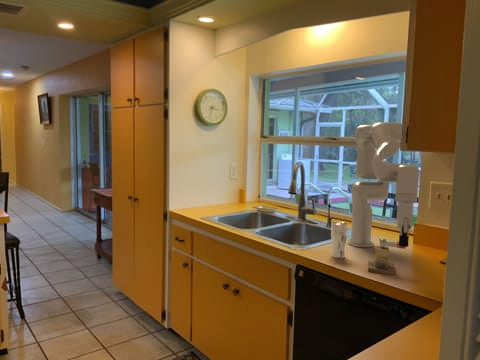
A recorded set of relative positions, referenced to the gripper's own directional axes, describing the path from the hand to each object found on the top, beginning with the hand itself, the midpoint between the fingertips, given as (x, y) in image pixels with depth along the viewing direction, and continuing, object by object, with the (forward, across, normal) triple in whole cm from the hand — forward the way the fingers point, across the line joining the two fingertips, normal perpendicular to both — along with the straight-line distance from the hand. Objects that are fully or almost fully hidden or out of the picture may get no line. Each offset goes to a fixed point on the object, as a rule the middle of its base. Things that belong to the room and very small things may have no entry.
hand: (403, 245), depth 147 cm
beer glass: (+12, -19, -25) cm, 34 cm away
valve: (+12, -7, -7) cm, 16 cm away
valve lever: (+3, -7, -4) cm, 8 cm away
